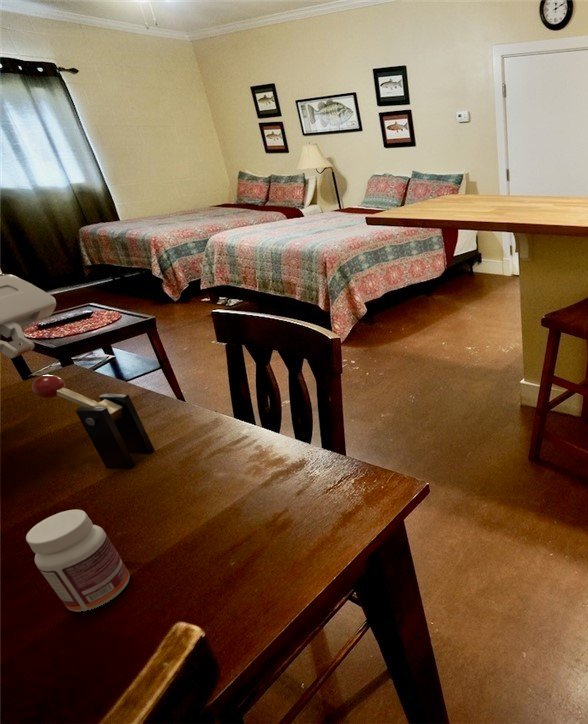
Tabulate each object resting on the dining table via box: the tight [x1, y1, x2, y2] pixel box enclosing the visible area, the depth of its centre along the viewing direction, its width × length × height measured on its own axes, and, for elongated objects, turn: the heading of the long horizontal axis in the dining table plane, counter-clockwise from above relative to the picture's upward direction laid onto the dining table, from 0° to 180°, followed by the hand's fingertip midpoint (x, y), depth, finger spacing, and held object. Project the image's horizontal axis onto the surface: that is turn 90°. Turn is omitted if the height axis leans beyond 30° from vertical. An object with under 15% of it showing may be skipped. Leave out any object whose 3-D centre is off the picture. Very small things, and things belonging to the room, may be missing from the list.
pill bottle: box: [25, 509, 131, 613], centre depth 56 cm, size 6×6×11 cm
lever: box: [31, 374, 122, 421], centre depth 75 cm, size 12×4×4 cm
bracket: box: [74, 393, 156, 470], centre depth 78 cm, size 9×7×13 cm
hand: (24, 351), depth 72 cm, fingers closed
